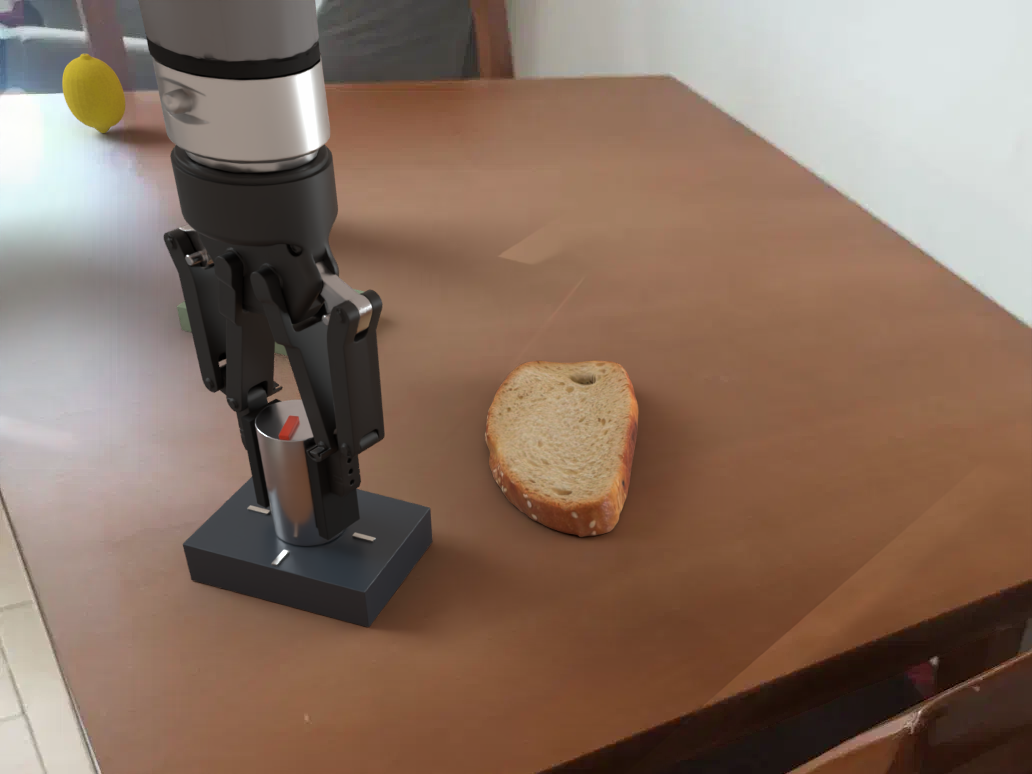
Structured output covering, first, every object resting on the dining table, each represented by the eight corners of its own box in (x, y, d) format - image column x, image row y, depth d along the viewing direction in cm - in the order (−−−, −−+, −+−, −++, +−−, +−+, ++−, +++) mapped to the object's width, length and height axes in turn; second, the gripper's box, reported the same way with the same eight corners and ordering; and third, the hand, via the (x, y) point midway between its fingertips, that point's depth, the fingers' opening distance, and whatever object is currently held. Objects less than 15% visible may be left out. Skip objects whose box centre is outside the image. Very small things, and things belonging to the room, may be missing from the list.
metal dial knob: (285, 500, 73) (267, 391, 68) (355, 506, 73) (341, 398, 68) (264, 543, 70) (243, 432, 64) (337, 549, 70) (322, 439, 65)
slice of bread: (580, 552, 77) (582, 510, 75) (405, 441, 84) (402, 399, 82) (736, 451, 89) (742, 411, 87) (572, 361, 96) (573, 322, 94)
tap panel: (191, 580, 70) (181, 541, 68) (270, 499, 77) (263, 462, 75) (369, 628, 69) (364, 590, 67) (433, 541, 76) (430, 505, 74)
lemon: (61, 133, 117) (40, 53, 112) (104, 119, 121) (86, 41, 116) (102, 147, 116) (83, 67, 111) (144, 132, 120) (127, 54, 115)
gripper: (61, 112, 56) (159, 486, 71) (328, 221, 50) (372, 600, 65) (187, 79, 61) (253, 434, 76) (440, 175, 56) (457, 535, 71)
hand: (308, 510), depth 71 cm, fingers closed on metal dial knob, 4 cm apart
